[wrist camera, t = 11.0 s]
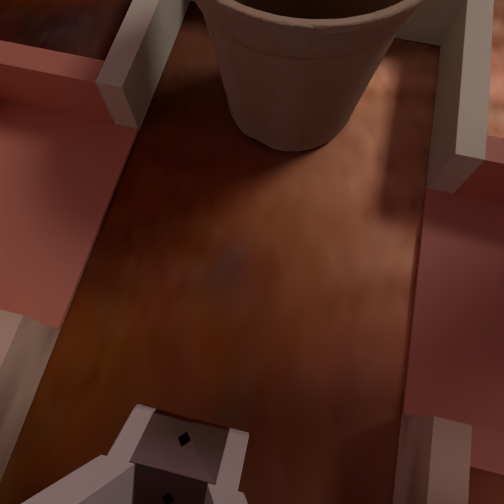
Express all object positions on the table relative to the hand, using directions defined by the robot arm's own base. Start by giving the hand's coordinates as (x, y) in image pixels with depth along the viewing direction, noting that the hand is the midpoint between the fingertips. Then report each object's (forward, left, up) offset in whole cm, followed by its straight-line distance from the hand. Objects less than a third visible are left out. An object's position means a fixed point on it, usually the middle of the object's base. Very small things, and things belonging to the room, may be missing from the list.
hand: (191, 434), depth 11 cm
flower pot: (-13, -9, -6) cm, 17 cm away
